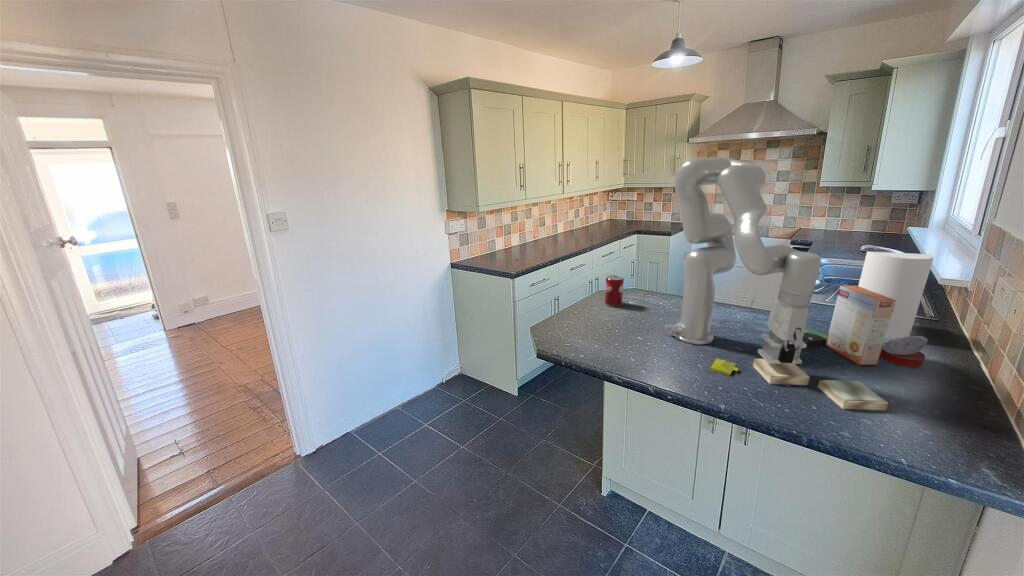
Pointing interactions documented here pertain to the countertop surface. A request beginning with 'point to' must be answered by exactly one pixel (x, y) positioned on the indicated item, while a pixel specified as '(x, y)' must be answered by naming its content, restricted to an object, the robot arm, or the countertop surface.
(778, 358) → the housing
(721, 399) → the countertop surface
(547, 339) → the countertop surface
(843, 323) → the cracker box
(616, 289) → the soda can
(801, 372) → the stand
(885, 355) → the canned food
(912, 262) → the cylinder
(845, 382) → the stand
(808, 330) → the disk drive
